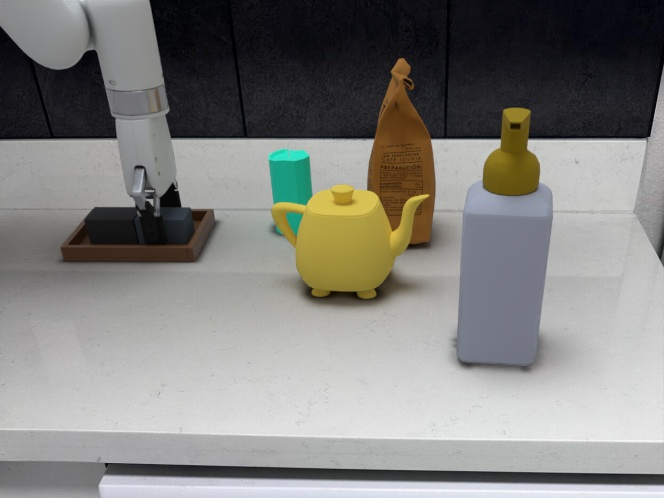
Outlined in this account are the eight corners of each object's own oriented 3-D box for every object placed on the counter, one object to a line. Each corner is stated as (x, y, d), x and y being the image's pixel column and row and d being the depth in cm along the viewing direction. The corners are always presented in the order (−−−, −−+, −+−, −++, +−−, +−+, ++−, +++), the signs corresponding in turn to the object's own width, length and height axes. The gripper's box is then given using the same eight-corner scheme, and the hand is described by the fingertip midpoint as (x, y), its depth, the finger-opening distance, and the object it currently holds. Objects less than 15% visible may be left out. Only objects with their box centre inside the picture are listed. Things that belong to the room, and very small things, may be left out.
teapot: (423, 309, 99) (425, 209, 91) (268, 303, 101) (255, 204, 92) (431, 265, 109) (433, 171, 101) (289, 259, 111) (280, 166, 102)
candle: (310, 237, 117) (303, 150, 109) (271, 234, 117) (261, 148, 109) (319, 221, 121) (313, 137, 113) (281, 219, 122) (273, 136, 114)
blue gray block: (139, 244, 114) (133, 219, 112) (148, 230, 118) (143, 206, 115) (187, 244, 114) (182, 219, 111) (195, 230, 117) (190, 207, 115)
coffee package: (433, 218, 122) (437, 55, 107) (434, 250, 113) (439, 77, 98) (369, 217, 122) (364, 55, 107) (365, 250, 113) (359, 77, 98)
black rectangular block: (90, 243, 114) (83, 219, 112) (100, 230, 118) (94, 206, 115) (138, 244, 114) (132, 219, 112) (147, 230, 118) (142, 206, 115)
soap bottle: (454, 365, 89) (466, 123, 72) (461, 327, 96) (472, 97, 79) (534, 370, 88) (564, 126, 71) (535, 331, 95) (563, 100, 78)
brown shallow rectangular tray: (63, 261, 111) (59, 247, 110) (96, 221, 122) (92, 208, 120) (195, 261, 110) (192, 247, 109) (215, 222, 121) (213, 209, 120)
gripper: (128, 83, 110) (154, 208, 121) (88, 118, 97) (122, 255, 109) (181, 83, 110) (203, 209, 121) (149, 118, 97) (176, 255, 108)
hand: (165, 230), depth 115 cm, fingers open, 9 cm apart
